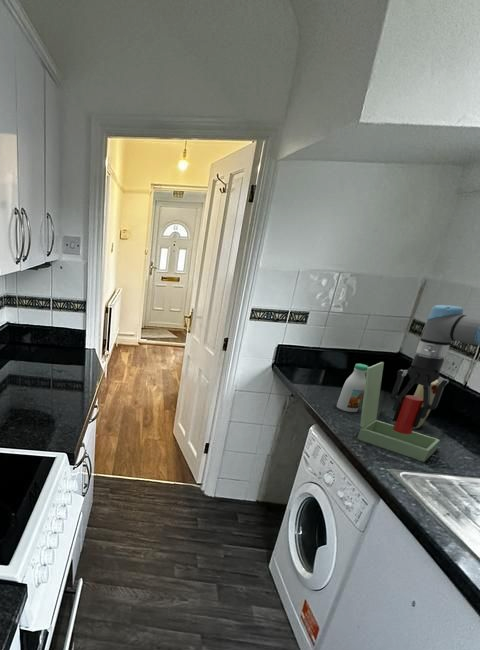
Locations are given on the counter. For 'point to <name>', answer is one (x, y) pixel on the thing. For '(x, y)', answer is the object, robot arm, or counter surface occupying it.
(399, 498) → the counter surface
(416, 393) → the food model
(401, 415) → the tin
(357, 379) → the milk bottle
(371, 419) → the lid
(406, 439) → the green open box
